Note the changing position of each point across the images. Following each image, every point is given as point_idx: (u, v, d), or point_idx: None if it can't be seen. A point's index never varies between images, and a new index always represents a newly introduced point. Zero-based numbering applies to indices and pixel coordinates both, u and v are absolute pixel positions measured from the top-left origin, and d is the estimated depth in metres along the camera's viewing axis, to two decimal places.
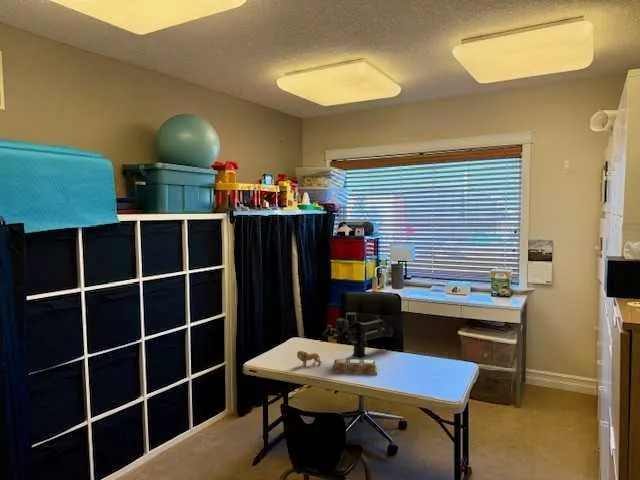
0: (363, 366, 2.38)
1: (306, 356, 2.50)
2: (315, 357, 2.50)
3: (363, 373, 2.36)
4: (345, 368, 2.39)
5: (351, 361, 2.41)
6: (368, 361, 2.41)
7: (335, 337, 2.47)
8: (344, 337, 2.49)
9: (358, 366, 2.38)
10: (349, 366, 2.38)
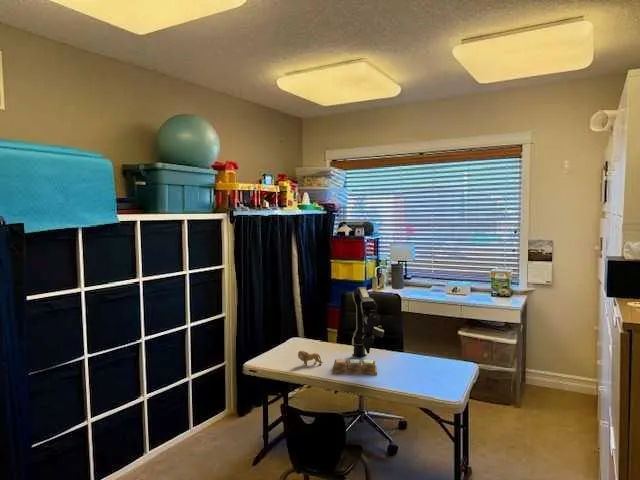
0: (363, 366, 2.38)
1: (307, 356, 2.50)
2: (316, 357, 2.50)
3: (363, 373, 2.36)
4: (345, 368, 2.39)
5: (351, 361, 2.41)
6: (368, 361, 2.41)
7: None
8: None
9: (358, 366, 2.38)
10: (349, 366, 2.38)
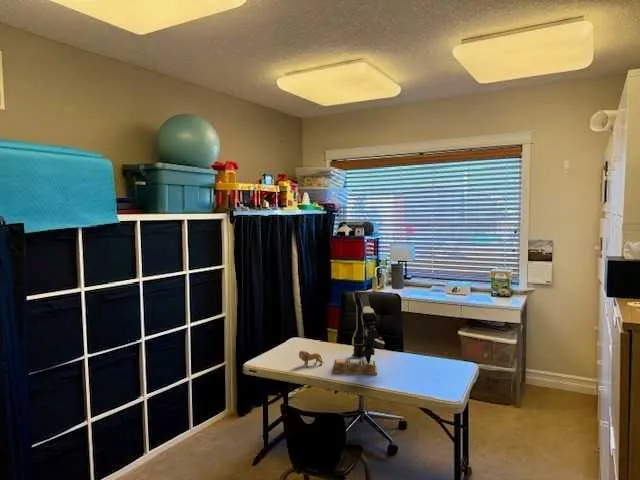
0: (363, 366, 2.38)
1: (308, 356, 2.50)
2: (317, 357, 2.50)
3: (363, 373, 2.36)
4: (345, 368, 2.39)
5: (351, 361, 2.41)
6: None
7: None
8: None
9: (358, 366, 2.38)
10: (349, 366, 2.38)
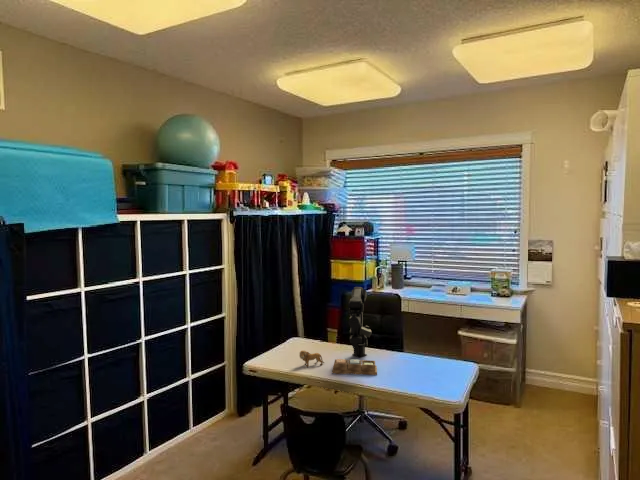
0: (363, 366, 2.38)
1: (308, 356, 2.50)
2: (317, 357, 2.50)
3: (363, 373, 2.36)
4: (345, 368, 2.39)
5: (351, 361, 2.41)
6: None
7: None
8: None
9: (358, 366, 2.38)
10: (349, 366, 2.38)
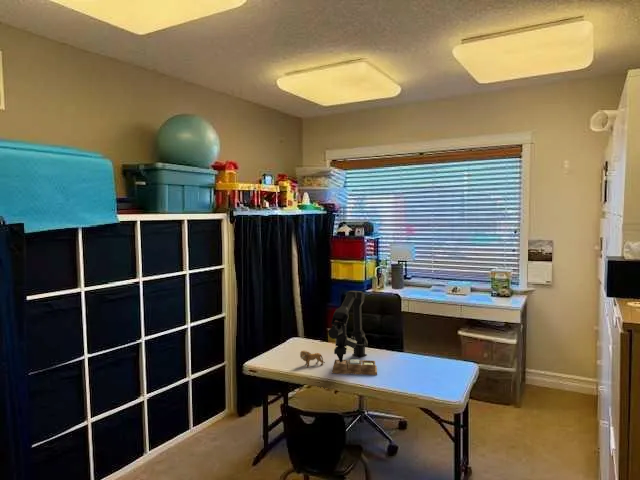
0: (363, 366, 2.38)
1: (309, 356, 2.50)
2: (318, 357, 2.50)
3: (363, 373, 2.36)
4: (345, 368, 2.39)
5: (351, 361, 2.41)
6: None
7: None
8: None
9: (358, 366, 2.38)
10: (349, 366, 2.38)
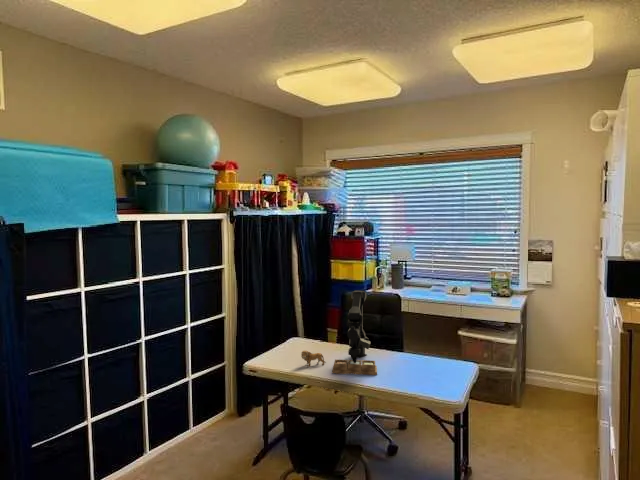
0: (363, 366, 2.38)
1: (310, 356, 2.50)
2: (319, 357, 2.51)
3: (363, 373, 2.36)
4: (345, 368, 2.39)
5: (351, 363, 2.41)
6: None
7: None
8: None
9: (358, 366, 2.38)
10: (349, 366, 2.38)
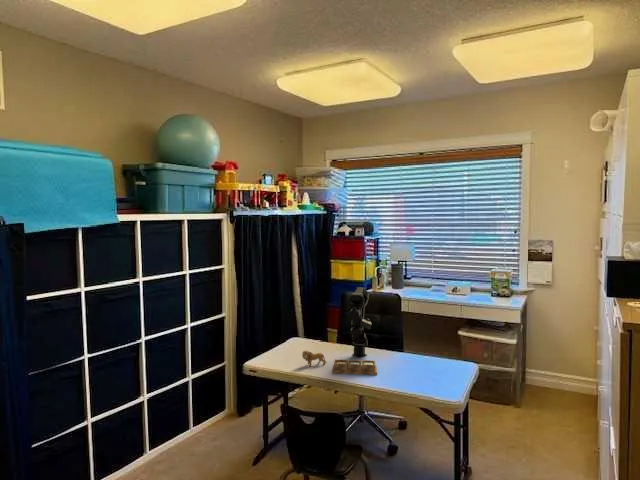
0: (363, 366, 2.38)
1: (311, 356, 2.50)
2: (320, 357, 2.51)
3: (363, 373, 2.36)
4: (345, 368, 2.39)
5: None
6: None
7: None
8: None
9: (358, 366, 2.38)
10: (349, 366, 2.38)
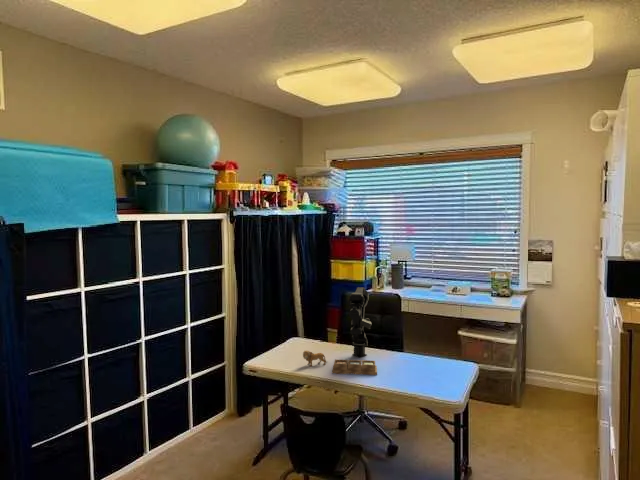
0: (363, 366, 2.38)
1: (312, 356, 2.50)
2: (321, 357, 2.51)
3: (363, 373, 2.36)
4: (345, 368, 2.39)
5: None
6: None
7: None
8: None
9: (358, 366, 2.38)
10: (349, 366, 2.38)
